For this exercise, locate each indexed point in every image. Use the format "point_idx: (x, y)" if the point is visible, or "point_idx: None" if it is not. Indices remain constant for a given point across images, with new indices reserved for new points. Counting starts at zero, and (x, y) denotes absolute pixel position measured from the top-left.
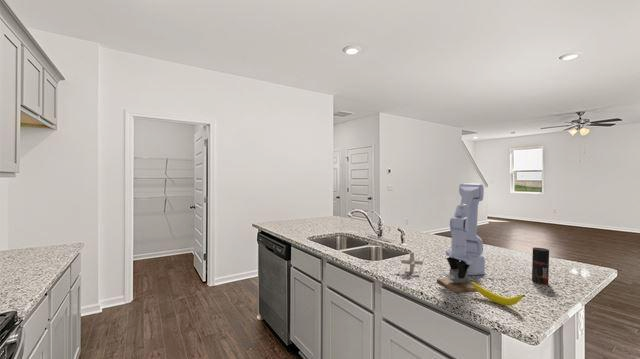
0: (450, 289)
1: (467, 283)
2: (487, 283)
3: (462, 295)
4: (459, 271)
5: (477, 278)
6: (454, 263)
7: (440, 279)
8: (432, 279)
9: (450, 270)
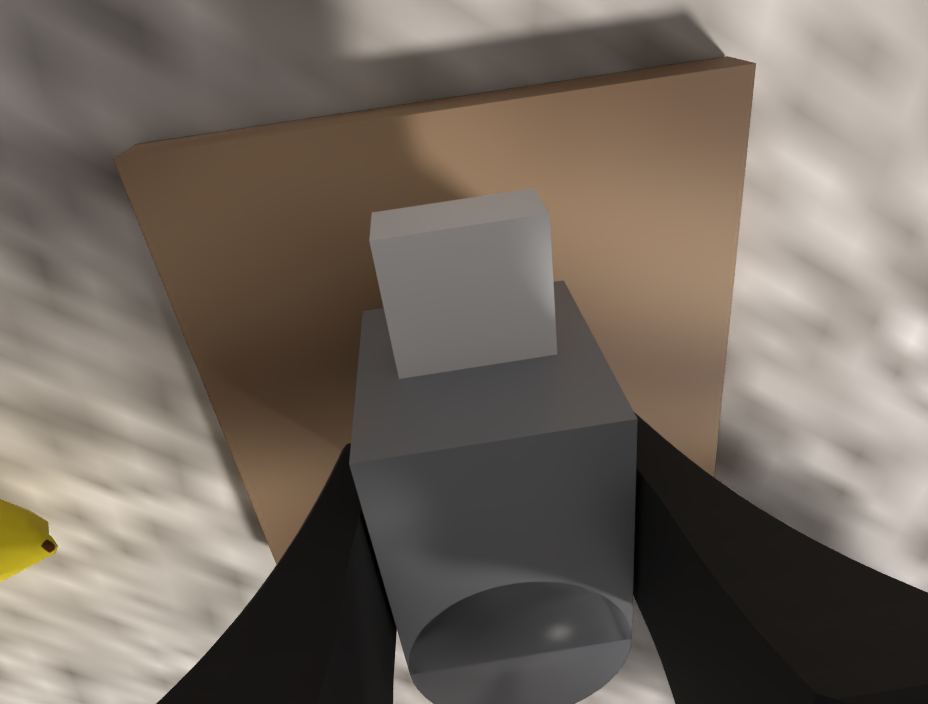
0: (275, 125)
1: None
2: None
3: (13, 219)
4: (300, 556)
5: None
6: (708, 678)
7: (708, 133)
8: (868, 15)
9: (595, 406)
